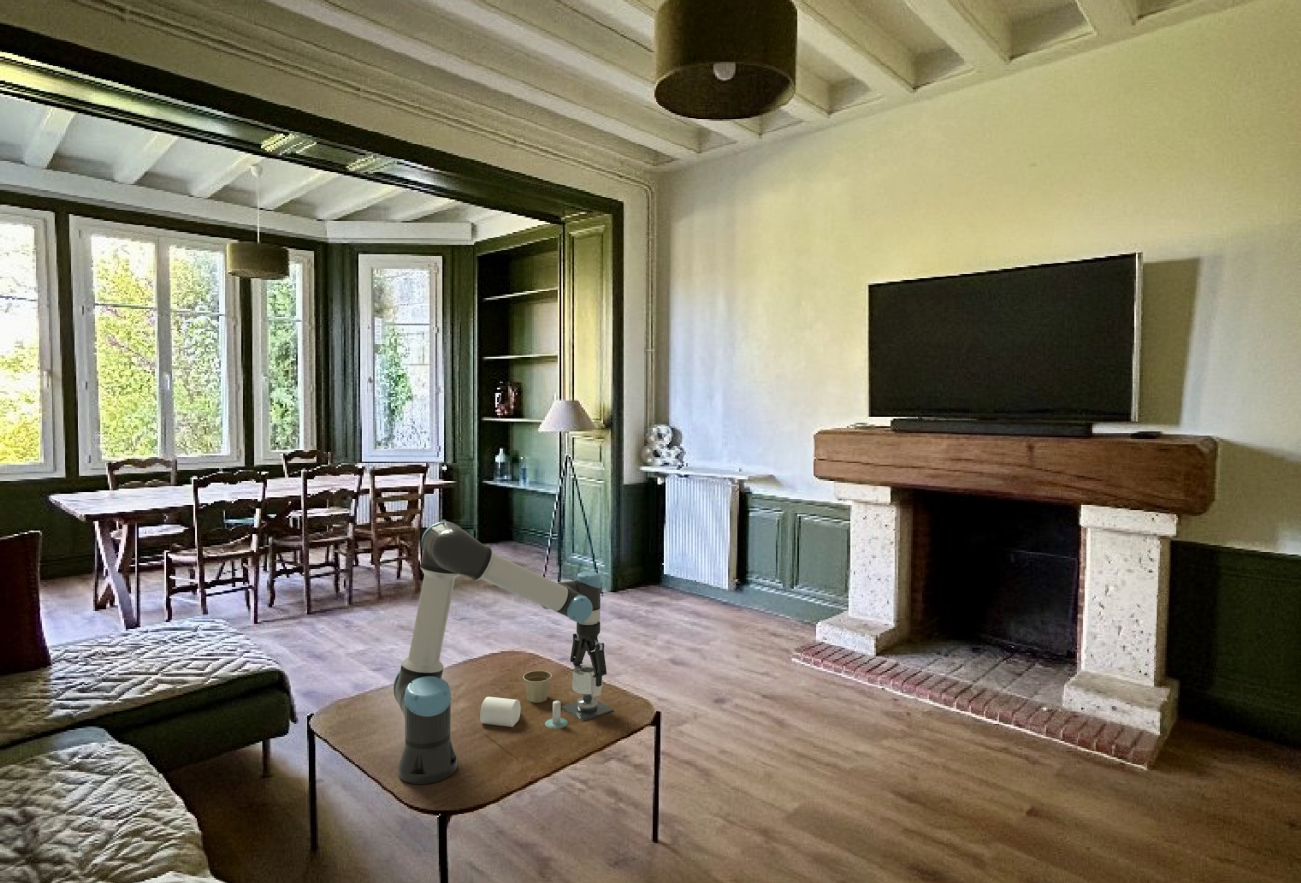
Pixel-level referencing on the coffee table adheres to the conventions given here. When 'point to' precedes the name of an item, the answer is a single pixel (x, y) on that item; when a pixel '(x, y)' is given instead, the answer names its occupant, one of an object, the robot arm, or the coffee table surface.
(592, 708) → the hub
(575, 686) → the collar
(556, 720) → the stand
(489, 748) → the coffee table surface
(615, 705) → the coffee table surface
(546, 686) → the flower pot
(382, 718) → the coffee table surface
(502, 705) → the mug
